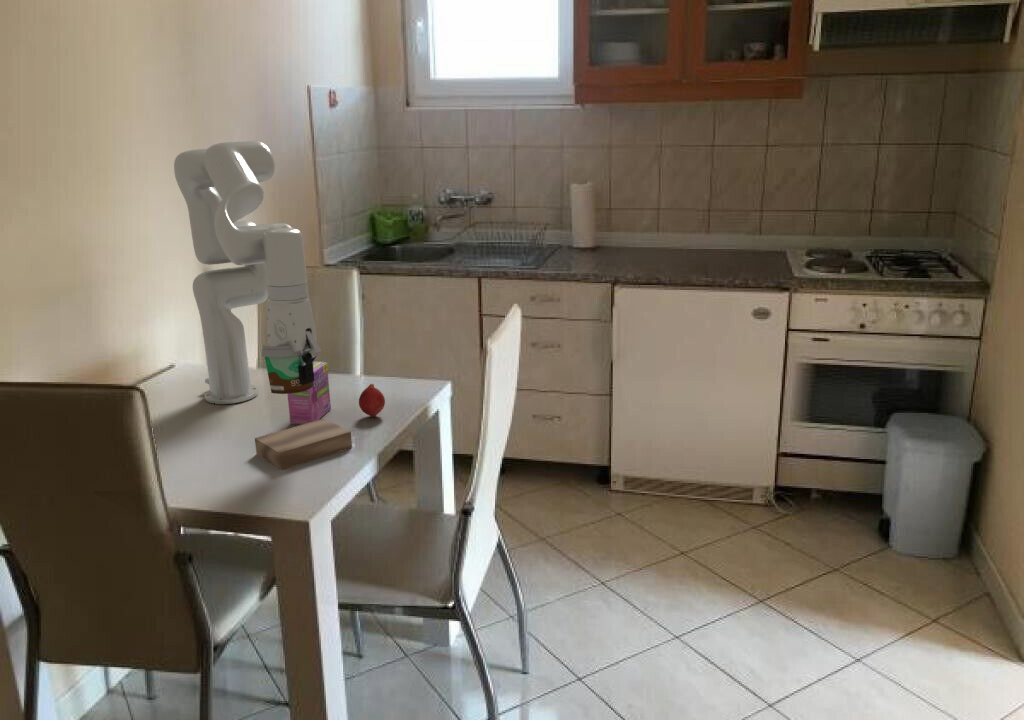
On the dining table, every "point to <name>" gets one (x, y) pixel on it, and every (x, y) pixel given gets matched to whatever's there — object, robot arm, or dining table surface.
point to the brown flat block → (303, 443)
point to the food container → (284, 369)
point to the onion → (371, 401)
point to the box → (311, 398)
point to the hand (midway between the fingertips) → (297, 379)
